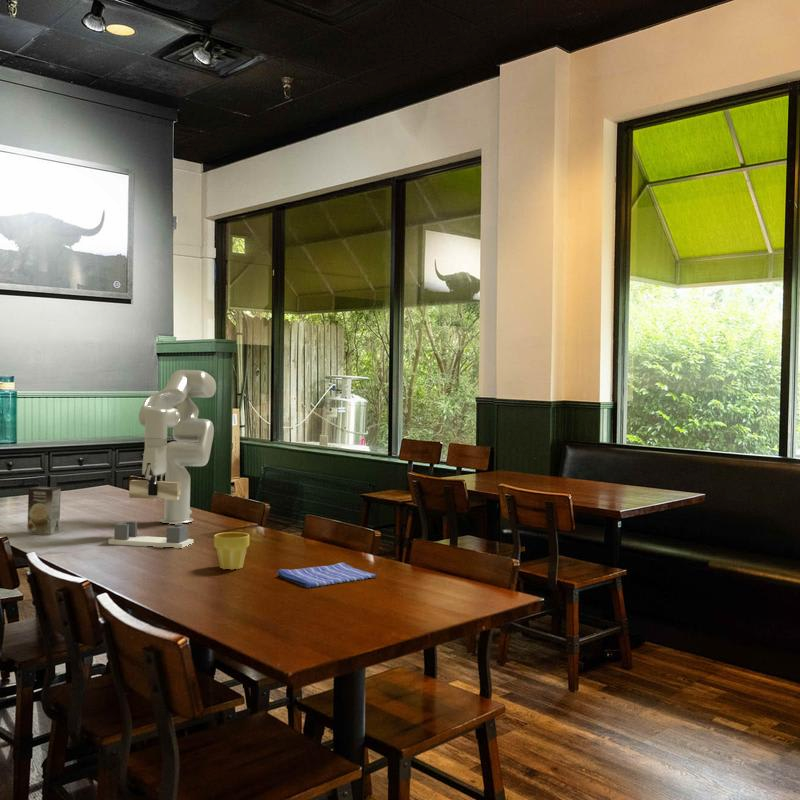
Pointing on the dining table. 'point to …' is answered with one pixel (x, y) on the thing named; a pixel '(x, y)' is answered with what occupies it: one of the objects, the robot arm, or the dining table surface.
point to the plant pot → (231, 549)
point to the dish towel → (324, 575)
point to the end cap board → (128, 536)
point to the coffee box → (43, 510)
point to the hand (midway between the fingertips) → (154, 494)
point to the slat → (163, 490)
